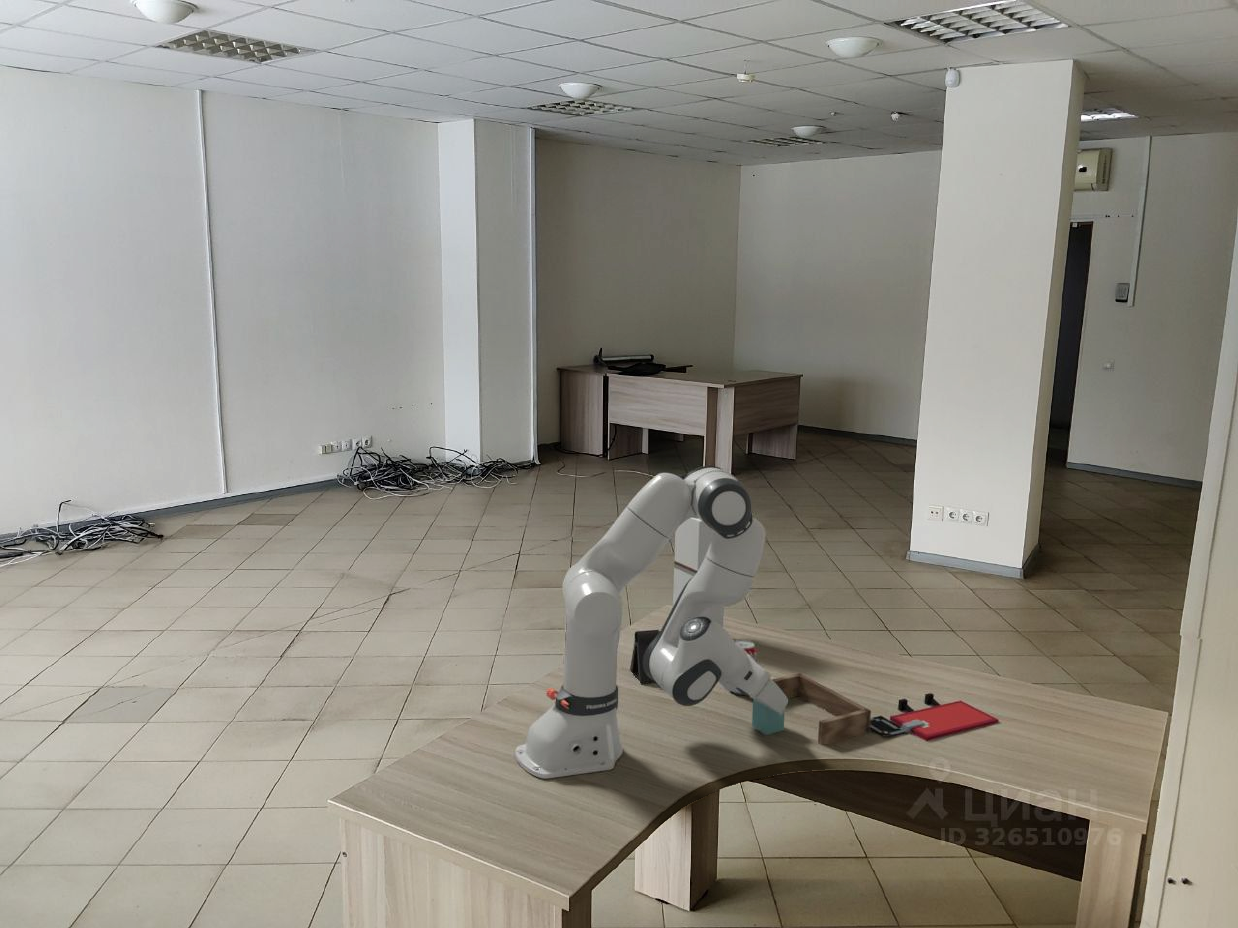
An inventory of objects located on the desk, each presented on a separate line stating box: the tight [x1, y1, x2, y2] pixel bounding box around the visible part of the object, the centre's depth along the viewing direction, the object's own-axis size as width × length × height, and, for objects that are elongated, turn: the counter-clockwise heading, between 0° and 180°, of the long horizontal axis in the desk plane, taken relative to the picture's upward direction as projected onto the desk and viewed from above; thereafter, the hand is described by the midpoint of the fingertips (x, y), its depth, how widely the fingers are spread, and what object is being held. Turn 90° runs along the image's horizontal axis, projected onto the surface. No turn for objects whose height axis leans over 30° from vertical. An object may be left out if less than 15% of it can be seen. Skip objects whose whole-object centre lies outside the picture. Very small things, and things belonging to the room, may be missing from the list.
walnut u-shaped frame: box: [771, 672, 872, 746], centre depth 220 cm, size 14×24×5 cm, turn 30°
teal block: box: [751, 698, 786, 735], centre depth 214 cm, size 5×5×8 cm
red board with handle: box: [870, 692, 1000, 742], centre depth 220 cm, size 30×3×15 cm
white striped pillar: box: [672, 517, 725, 628], centre depth 270 cm, size 11×11×35 cm
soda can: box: [730, 639, 758, 696], centre depth 234 cm, size 7×7×12 cm
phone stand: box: [629, 629, 661, 685], centre depth 241 cm, size 9×6×12 cm, turn 17°
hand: (768, 703), depth 213 cm, fingers open, 8 cm apart
